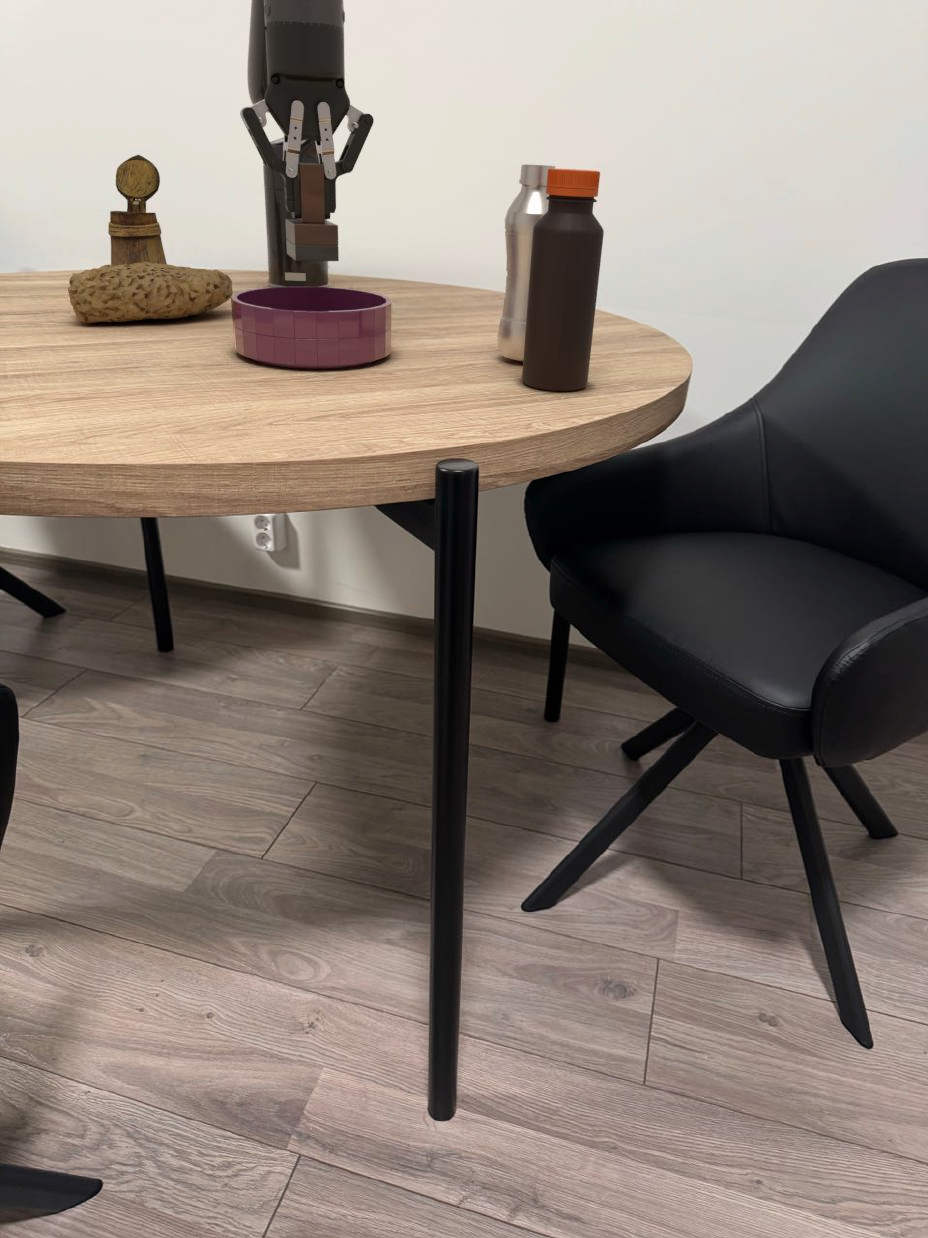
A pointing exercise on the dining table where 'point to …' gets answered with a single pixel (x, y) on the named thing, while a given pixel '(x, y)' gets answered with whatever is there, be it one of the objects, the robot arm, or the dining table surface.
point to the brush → (312, 220)
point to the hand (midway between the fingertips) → (310, 217)
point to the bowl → (311, 326)
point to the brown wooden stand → (136, 215)
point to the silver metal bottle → (521, 257)
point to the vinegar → (563, 283)
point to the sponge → (146, 292)
